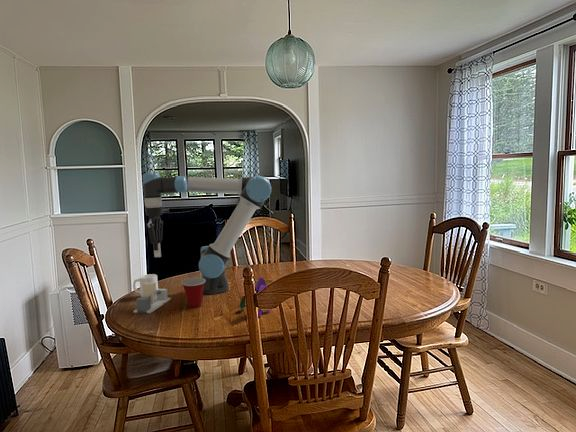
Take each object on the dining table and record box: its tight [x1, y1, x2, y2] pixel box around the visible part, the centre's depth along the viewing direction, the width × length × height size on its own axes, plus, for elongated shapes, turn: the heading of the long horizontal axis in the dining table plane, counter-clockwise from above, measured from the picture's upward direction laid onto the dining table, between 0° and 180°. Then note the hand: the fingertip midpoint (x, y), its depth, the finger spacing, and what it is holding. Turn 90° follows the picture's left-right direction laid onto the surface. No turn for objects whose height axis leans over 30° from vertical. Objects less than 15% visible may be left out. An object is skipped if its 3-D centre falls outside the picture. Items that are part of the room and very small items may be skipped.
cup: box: [132, 273, 159, 297], centre depth 215 cm, size 8×12×10 cm
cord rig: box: [133, 288, 172, 314], centre depth 199 cm, size 20×8×6 cm, turn 170°
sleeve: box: [143, 282, 157, 304], centre depth 197 cm, size 4×5×9 cm
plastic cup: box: [180, 276, 206, 309], centre depth 196 cm, size 11×11×12 cm
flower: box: [238, 277, 271, 317], centre depth 185 cm, size 15×15×14 cm
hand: (157, 256), depth 204 cm, fingers closed
